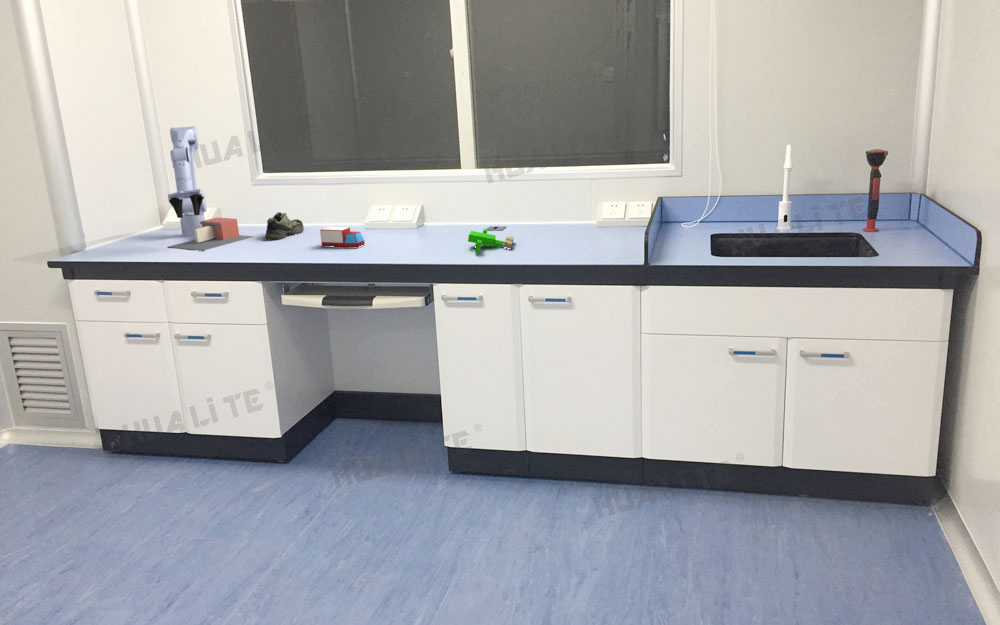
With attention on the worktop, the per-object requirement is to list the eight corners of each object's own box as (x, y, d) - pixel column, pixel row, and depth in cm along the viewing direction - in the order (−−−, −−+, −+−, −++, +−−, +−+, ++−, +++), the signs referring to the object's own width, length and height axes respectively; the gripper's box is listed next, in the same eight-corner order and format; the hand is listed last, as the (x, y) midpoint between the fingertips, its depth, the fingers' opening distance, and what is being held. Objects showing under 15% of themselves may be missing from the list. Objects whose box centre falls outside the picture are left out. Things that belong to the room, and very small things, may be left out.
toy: (512, 247, 293) (471, 239, 294) (515, 234, 292) (473, 226, 292) (507, 262, 272) (463, 254, 272) (510, 248, 270) (465, 240, 271)
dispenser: (202, 238, 321) (199, 221, 319) (219, 234, 328) (217, 217, 326) (222, 240, 315) (219, 223, 313) (239, 235, 323) (237, 218, 321)
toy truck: (357, 249, 291) (355, 230, 289) (321, 247, 297) (319, 229, 295) (365, 245, 296) (363, 227, 294) (329, 244, 302) (327, 226, 300)
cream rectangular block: (195, 242, 313) (193, 229, 311) (218, 236, 322) (216, 223, 320) (198, 242, 312) (196, 229, 310) (220, 236, 321) (219, 224, 319)
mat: (167, 247, 309) (167, 246, 309) (219, 234, 330) (219, 233, 330) (203, 251, 299) (203, 250, 299) (254, 237, 320) (254, 236, 320)
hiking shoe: (310, 230, 330) (307, 207, 328) (281, 241, 311) (278, 217, 308) (291, 229, 333) (288, 207, 330) (262, 241, 313) (258, 217, 311)
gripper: (160, 182, 305) (165, 218, 305) (192, 176, 300) (197, 213, 301) (173, 183, 311) (178, 219, 312) (205, 178, 307) (209, 214, 307)
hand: (188, 216), depth 307 cm, fingers open, 7 cm apart
